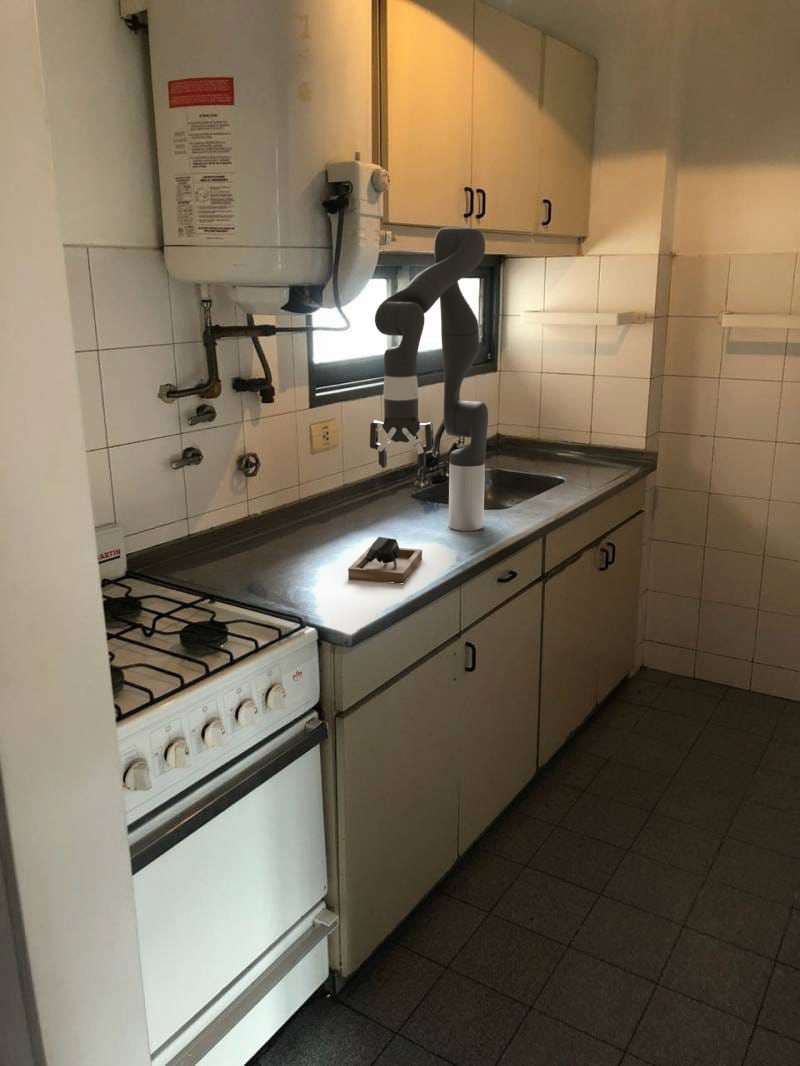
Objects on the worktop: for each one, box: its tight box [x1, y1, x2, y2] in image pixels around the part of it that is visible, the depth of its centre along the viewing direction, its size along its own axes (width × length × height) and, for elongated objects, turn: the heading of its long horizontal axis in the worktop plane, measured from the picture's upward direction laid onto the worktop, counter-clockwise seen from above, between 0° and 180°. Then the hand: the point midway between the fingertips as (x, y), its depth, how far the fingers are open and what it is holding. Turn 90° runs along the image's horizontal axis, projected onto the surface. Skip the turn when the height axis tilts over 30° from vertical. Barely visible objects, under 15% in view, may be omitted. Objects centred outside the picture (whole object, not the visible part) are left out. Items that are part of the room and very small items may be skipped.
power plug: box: [360, 536, 400, 569], centre depth 189 cm, size 6×8×12 cm
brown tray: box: [347, 545, 423, 584], centre depth 192 cm, size 17×12×2 cm
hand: (402, 467), depth 191 cm, fingers open, 8 cm apart
